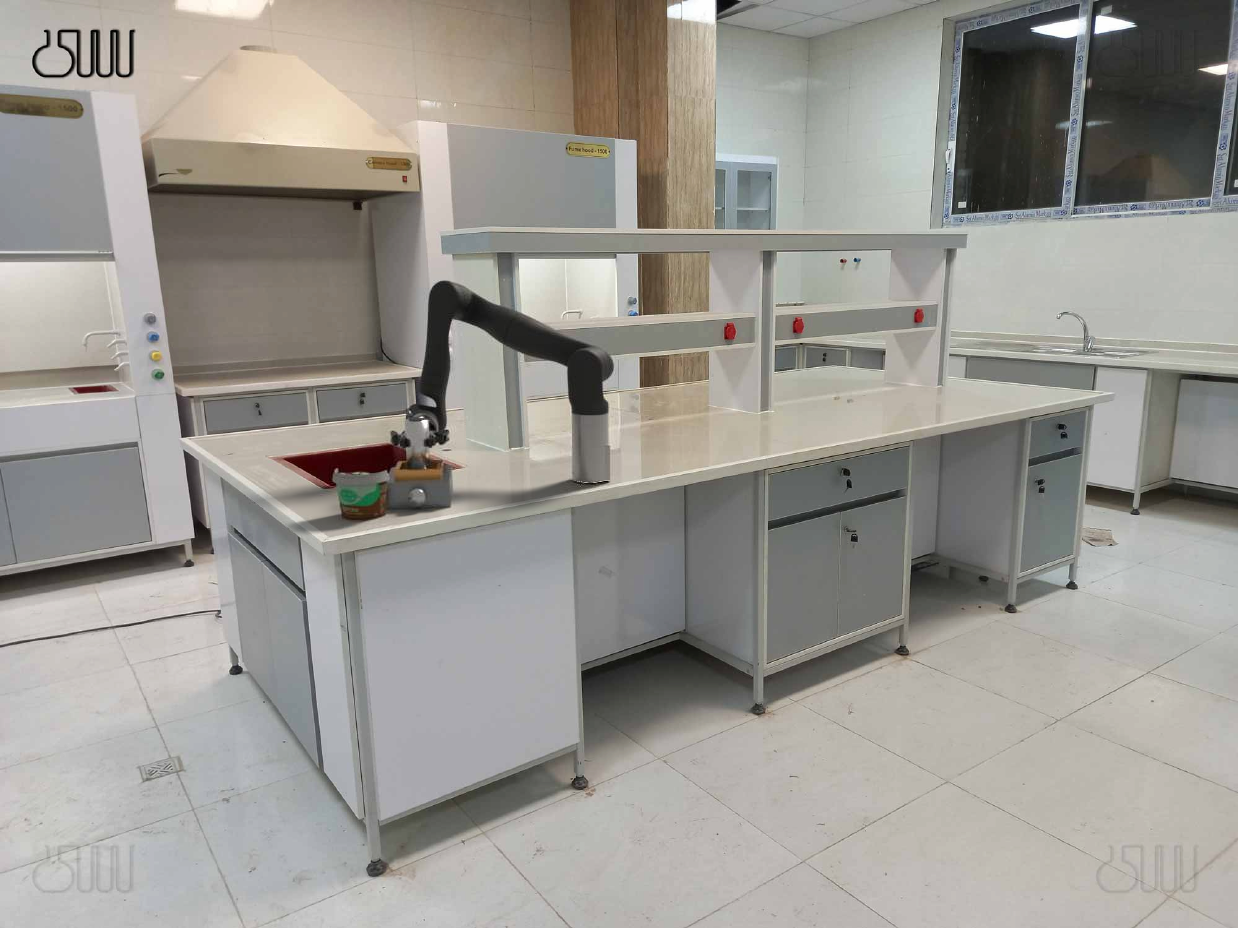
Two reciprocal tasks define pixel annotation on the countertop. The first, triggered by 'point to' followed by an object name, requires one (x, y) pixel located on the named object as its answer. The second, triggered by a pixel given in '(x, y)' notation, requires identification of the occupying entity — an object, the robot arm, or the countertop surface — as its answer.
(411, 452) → the spout can
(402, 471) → the box
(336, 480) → the food container
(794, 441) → the countertop surface
